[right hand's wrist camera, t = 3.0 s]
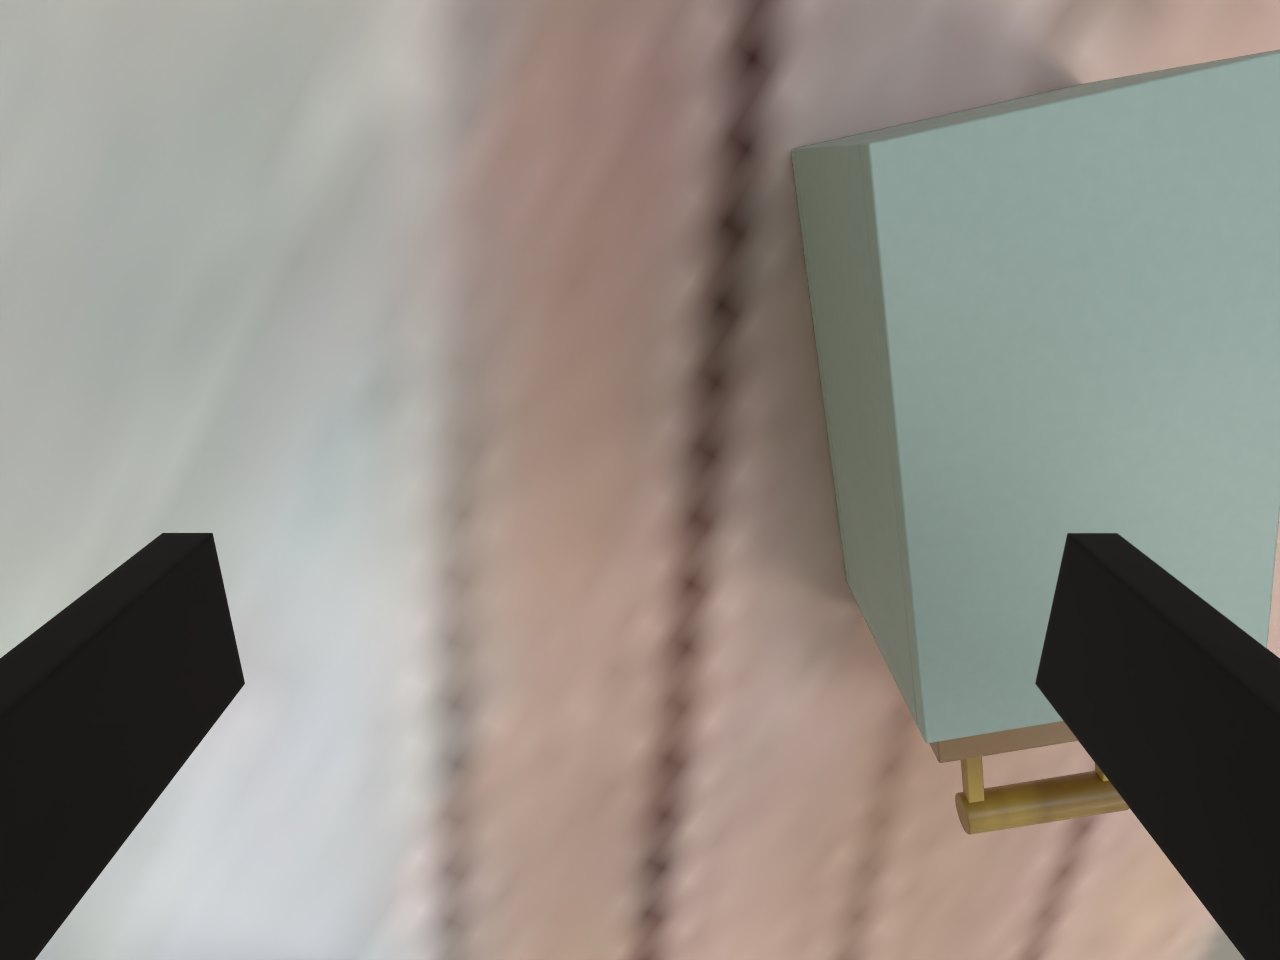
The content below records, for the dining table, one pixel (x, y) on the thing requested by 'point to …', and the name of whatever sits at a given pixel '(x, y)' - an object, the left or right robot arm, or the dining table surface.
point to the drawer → (1027, 798)
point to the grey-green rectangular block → (1048, 363)
